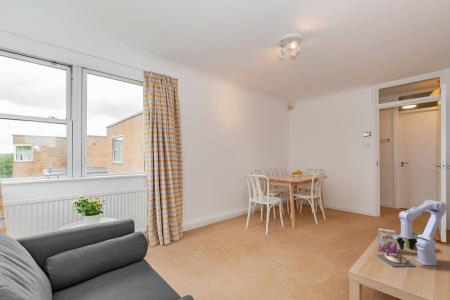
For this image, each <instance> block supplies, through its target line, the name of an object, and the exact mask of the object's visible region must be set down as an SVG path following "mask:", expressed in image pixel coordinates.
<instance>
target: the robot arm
mask: <svg viewBox="0 0 450 300" xmlns="http://www.w3.org/2000/svg"><path fill="white" fill-rule="evenodd" d="M447 209H448V207H447V205H446V202H443V201H436V200H433V199H425V200H424V201H423V203H421V204H420V205H419V206H417V207H416V206H412V207H411V208H410V209H407V210H402V211H400V212H399V213H398V218H399V221H400V234H397V235H395V238H396V240H397V245H399V250H400V251H401V250H402V251H404V249H405V248H404V247H405V244H406V241H405V239H408V241H409V248H408V249H409V250H410V251H414V250H413V248H414V246H415V245H416V247H417V250H416V251H417V258H413V259H414V261H415V262H418V263H420V264H422V265H424V266H438V265H439V264H438V263H437V253H436V251H435V249H436V244H437V242H436V240H435V239H434V236H435V234H436V232H437V229H438V227H439V225H440V223H441V221H442V219H443V216H445V213H446V211H447ZM426 211H427V212H429V213H430V217H429V218H428V221H427V224H426V225H425V228H424V231H423V233H422V234H420V235H418V236H416V235H412V232H413V222H414V221H415V219H416V218H417V217H419V216H421V215H422V213H423V212H426Z"/></svg>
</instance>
